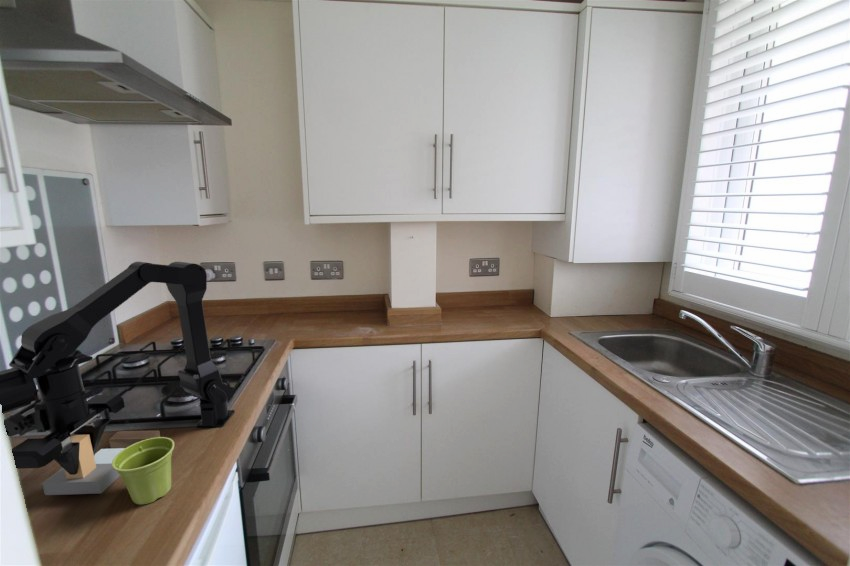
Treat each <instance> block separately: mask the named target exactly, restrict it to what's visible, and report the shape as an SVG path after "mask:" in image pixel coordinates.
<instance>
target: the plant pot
mask: <svg viewBox="0 0 850 566" xmlns="http://www.w3.org/2000/svg"><path fill="white" fill-rule="evenodd" d="M174 448H175V441H174V440H173V439H172V438H170V437H165V436H160V437H155V438H150V439H146V440H142V441H140V442H137V443H135V444H132V445H130V446H129V447H127V448H125V449H124V450H122V451H121V452H119V453H118V454H117V455H116V456H115V458H114V459H113V461H112V467H113V469H114V470H116V471H117V472H118V473H119V474H120V476H121V479H122V481H123V482H124V484H125V487H126V489H127V492H128V494H129V495H130V499H131V501H132V502H133V503H134V504H136V505H146V504H150V503H153V502H155V501H157V500H158V499H159V498H162V497H165V496H166V495H167V494H168V493H169V492H170V490H171V488H172V456H173V451H174Z"/></svg>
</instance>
